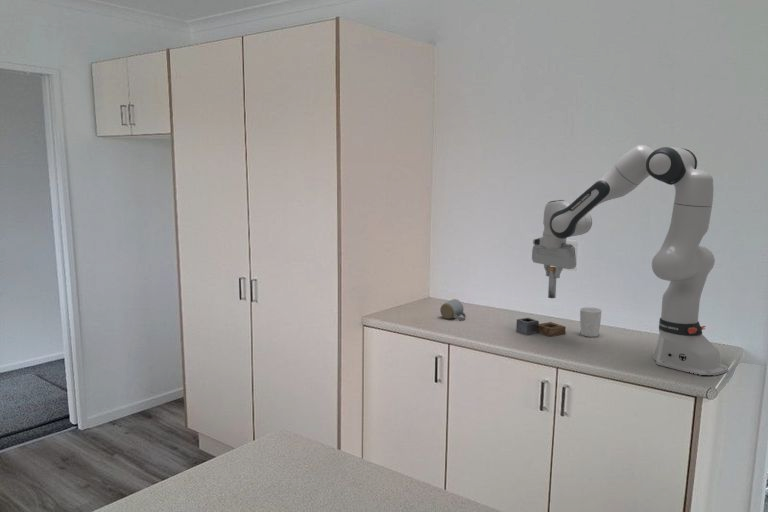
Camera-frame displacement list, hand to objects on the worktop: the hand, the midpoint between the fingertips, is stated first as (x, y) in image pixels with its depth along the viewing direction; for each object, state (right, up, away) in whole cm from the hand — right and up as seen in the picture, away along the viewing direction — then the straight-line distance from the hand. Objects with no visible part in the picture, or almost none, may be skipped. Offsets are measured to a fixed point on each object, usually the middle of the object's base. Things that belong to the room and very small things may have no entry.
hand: (552, 277), depth 229 cm
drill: (0, -8, +1) cm, 8 cm away
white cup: (+15, -23, +1) cm, 27 cm away
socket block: (-9, -22, +4) cm, 24 cm away
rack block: (0, -22, +3) cm, 22 cm away
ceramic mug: (-35, -19, +27) cm, 48 cm away
